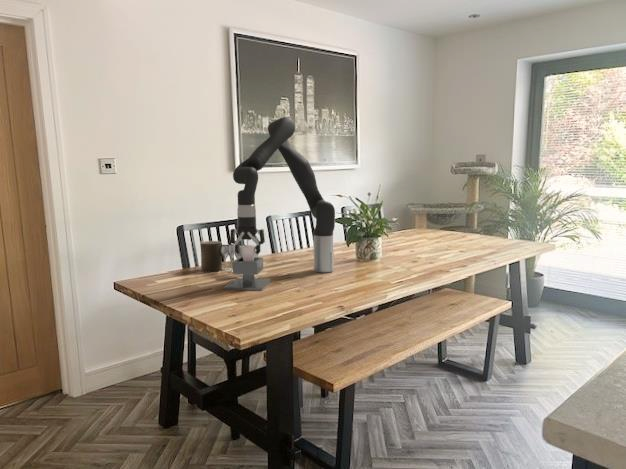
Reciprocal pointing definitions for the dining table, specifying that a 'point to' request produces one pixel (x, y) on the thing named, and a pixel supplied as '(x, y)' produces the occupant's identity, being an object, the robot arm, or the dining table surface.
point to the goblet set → (231, 255)
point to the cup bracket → (247, 275)
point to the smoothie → (248, 252)
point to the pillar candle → (211, 256)
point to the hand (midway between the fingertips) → (247, 253)
